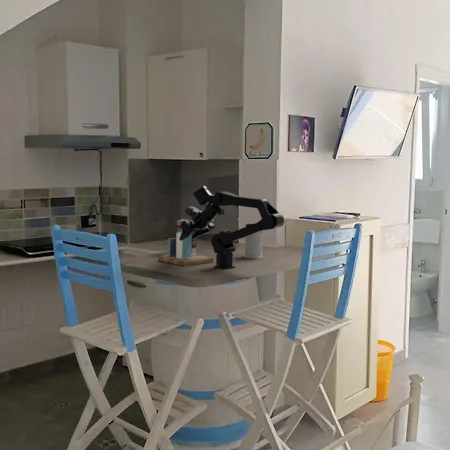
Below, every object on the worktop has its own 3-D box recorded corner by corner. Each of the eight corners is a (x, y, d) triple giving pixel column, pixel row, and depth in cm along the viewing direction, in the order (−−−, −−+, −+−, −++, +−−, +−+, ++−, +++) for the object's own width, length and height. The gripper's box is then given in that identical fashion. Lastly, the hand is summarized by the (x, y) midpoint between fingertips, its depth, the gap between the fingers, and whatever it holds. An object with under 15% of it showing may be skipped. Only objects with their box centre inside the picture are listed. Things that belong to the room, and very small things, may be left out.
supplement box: (175, 253, 282) (176, 220, 280) (181, 252, 286) (181, 219, 284) (191, 255, 277) (191, 221, 276) (196, 253, 282) (197, 220, 280)
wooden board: (213, 262, 258) (213, 257, 258) (185, 266, 247) (185, 261, 247) (186, 257, 271) (186, 252, 271) (158, 260, 260) (158, 256, 260)
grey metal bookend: (191, 254, 265) (191, 236, 265) (170, 257, 257) (170, 238, 256) (184, 253, 269) (184, 235, 268) (163, 255, 261) (163, 237, 260)
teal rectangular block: (191, 257, 259) (191, 231, 258) (182, 259, 253) (182, 233, 252) (184, 256, 260) (184, 231, 259) (175, 258, 255) (176, 232, 254)
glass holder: (247, 258, 270) (248, 225, 268) (237, 254, 283) (237, 222, 282) (265, 258, 273) (266, 225, 271) (254, 253, 286) (254, 222, 284)
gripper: (209, 199, 259) (188, 223, 266) (184, 201, 243) (162, 226, 250) (224, 218, 255) (202, 242, 262) (200, 221, 240) (177, 246, 246)
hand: (186, 238), depth 255 cm, fingers open, 9 cm apart
